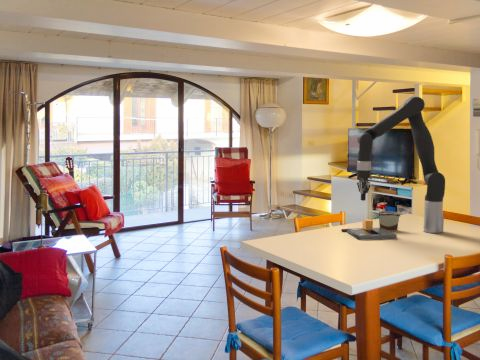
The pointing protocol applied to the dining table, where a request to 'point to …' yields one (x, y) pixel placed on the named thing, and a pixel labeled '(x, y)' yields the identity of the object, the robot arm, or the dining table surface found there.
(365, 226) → the lever
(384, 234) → the panel
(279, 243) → the dining table surface
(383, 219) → the food container
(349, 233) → the cord
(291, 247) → the dining table surface
